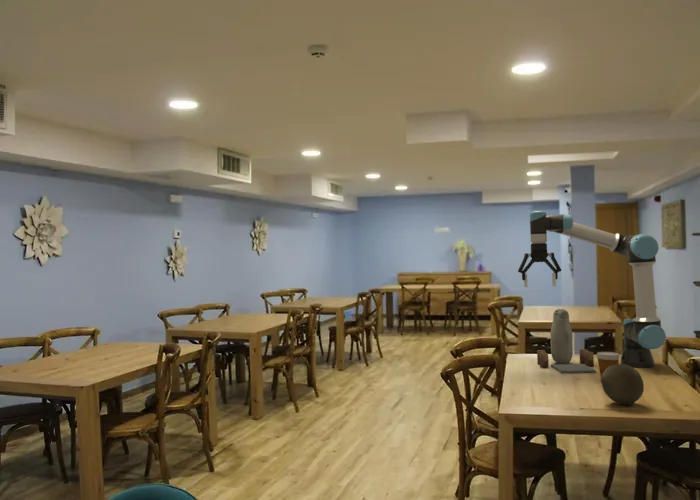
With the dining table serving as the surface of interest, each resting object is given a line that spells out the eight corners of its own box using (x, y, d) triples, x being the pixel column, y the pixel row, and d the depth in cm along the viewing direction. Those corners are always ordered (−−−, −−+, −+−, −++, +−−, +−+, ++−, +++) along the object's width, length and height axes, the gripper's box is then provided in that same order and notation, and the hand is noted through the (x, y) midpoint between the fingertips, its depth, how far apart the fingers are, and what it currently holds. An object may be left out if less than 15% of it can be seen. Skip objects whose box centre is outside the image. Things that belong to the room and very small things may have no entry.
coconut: (608, 398, 224) (607, 359, 224) (648, 403, 215) (646, 363, 215) (597, 406, 213) (596, 365, 213) (638, 411, 204) (637, 369, 204)
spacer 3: (589, 363, 292) (589, 349, 292) (585, 364, 290) (585, 350, 290) (582, 362, 295) (581, 348, 295) (578, 363, 293) (578, 349, 293)
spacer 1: (547, 364, 293) (546, 350, 293) (543, 365, 290) (542, 351, 290) (540, 363, 296) (539, 349, 296) (535, 364, 293) (535, 350, 294)
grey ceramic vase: (547, 363, 295) (545, 309, 295) (562, 361, 300) (560, 307, 300) (562, 366, 286) (560, 310, 287) (577, 364, 291) (575, 309, 291)
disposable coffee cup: (623, 383, 248) (622, 355, 248) (599, 382, 250) (598, 355, 250) (617, 378, 257) (616, 351, 257) (594, 378, 259) (594, 351, 259)
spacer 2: (550, 367, 285) (549, 353, 285) (545, 368, 283) (545, 354, 283) (542, 366, 288) (542, 352, 288) (538, 367, 286) (538, 353, 286)
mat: (583, 366, 286) (583, 363, 286) (595, 372, 270) (595, 370, 270) (550, 366, 286) (550, 364, 286) (561, 373, 270) (561, 371, 270)
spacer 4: (595, 366, 285) (594, 351, 285) (591, 367, 283) (590, 353, 283) (587, 365, 288) (587, 351, 288) (583, 366, 286) (583, 352, 286)
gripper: (562, 242, 281) (563, 285, 281) (510, 243, 282) (512, 286, 282) (567, 242, 274) (568, 286, 274) (514, 243, 275) (516, 287, 274)
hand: (540, 286), depth 278 cm, fingers open, 13 cm apart
